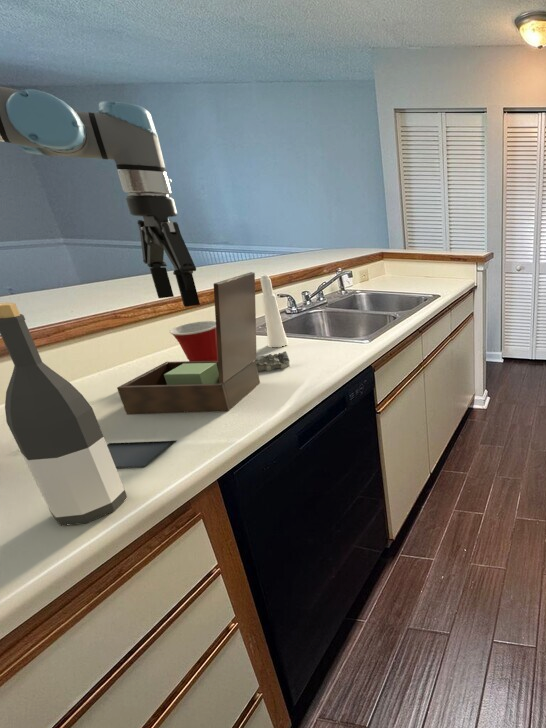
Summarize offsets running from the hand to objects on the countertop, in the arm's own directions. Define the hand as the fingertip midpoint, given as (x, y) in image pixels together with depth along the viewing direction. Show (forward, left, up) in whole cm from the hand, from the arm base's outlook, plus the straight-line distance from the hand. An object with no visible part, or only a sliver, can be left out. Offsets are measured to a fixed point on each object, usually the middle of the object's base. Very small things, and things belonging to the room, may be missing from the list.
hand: (178, 301), depth 92 cm
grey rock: (+9, +15, -22) cm, 28 cm away
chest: (+2, -5, -22) cm, 22 cm away
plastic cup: (-8, +17, -22) cm, 29 cm away
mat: (+2, -27, -22) cm, 35 cm away
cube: (+2, -5, -21) cm, 21 cm away
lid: (+13, -5, -4) cm, 15 cm away
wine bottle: (+7, -43, -22) cm, 49 cm away
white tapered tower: (+3, +38, -22) cm, 44 cm away
